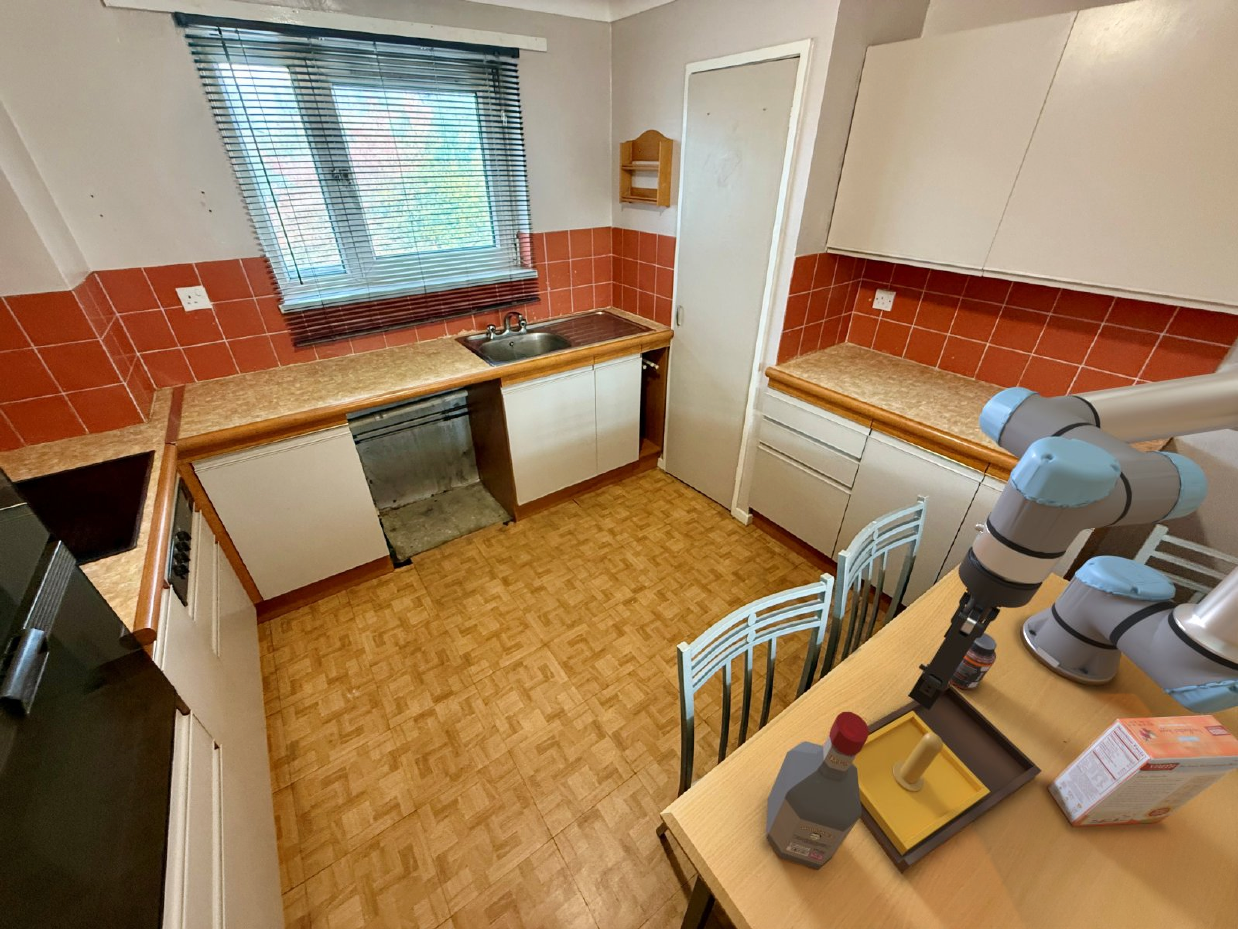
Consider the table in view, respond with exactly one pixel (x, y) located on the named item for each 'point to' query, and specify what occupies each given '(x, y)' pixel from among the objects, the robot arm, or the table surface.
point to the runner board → (976, 750)
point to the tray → (906, 806)
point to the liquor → (817, 795)
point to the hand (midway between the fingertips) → (937, 669)
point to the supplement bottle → (975, 663)
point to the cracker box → (1144, 770)
